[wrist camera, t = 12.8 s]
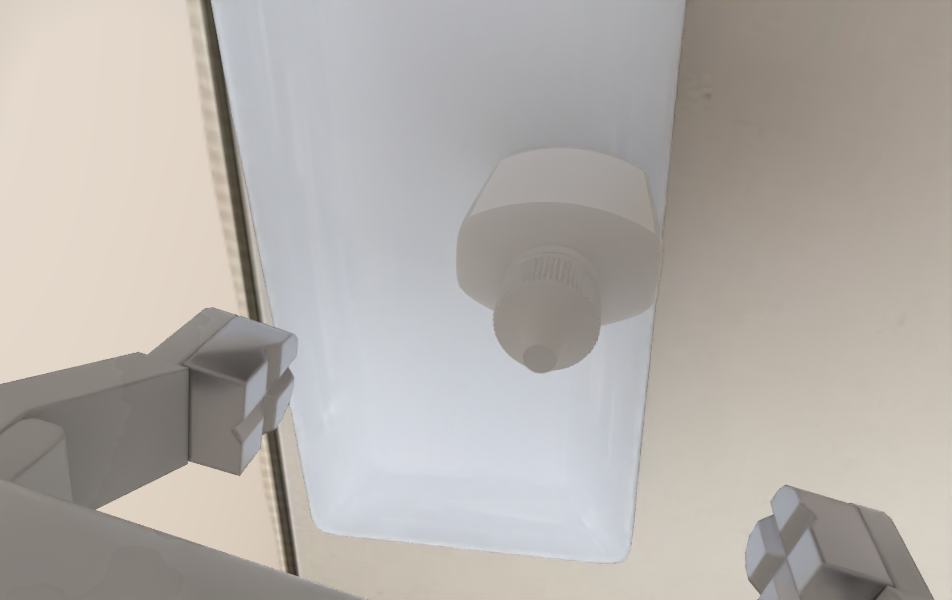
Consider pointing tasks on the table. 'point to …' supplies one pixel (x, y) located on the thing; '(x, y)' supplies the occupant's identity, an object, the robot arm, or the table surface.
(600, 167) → the eye dropper bottle
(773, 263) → the table surface
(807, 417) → the table surface
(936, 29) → the table surface
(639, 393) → the tray
